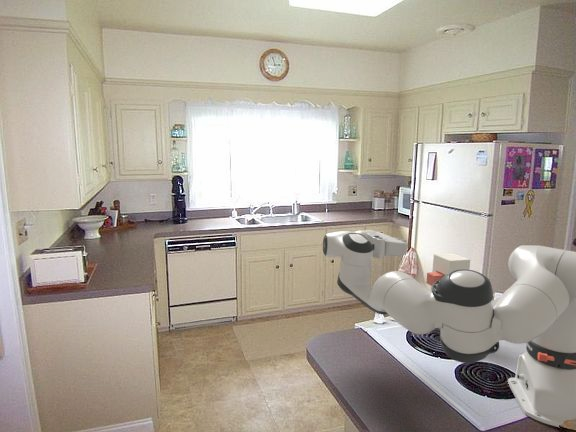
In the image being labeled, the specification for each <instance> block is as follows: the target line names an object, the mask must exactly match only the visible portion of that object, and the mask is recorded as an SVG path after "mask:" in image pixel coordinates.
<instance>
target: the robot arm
mask: <svg viewBox="0 0 576 432" xmlns="http://www.w3.org/2000/svg"><path fill="white" fill-rule="evenodd" d="M407 242H408V241H407V240H406V239H405V238H402V237H392V236H391V235H389V234H386V233H382V232H381V231H375V230H373V229H366V230H359V229H358V230H356V231H349V230H341V231H340V230H339V231H331V232H328V233H326V234H324V237H323V241H322V252H323V254H324V256H325V257H328V258H340V264H339V272H338V276H337V281H336V283H337V286H338V287H339V289H340V290H341V291H343V292H344V293H345V294H348V295H350V296H352V297H353V298H354V299H356V300H357V302H358V301H359V302H360V303H361V304H362V305H363V306H365V307H366V308H367V309H369V310H371V311H372V312H374V313H376V314H378V315H388V316H390V318H392V320H394V321H395V322H396V323H398V324H399V325H400V326H401V327H402V328H404V329H405V330H407V331H409V332H410V333H412V334H415V335H427V334H429V333H431V332H433V331H434V330H435V329H439V331H440V332H439V340H440V341H439V342H440V345H441V348H442V350H443V352H444V353H445V354H446V356H448V358H450V359H452V360H453V361H455V362H459V363H463V364H471V363H476V362H477V363H478V362H480V361H482V360H484V359H485V358H487V357H488V356H489V355H490V354H495V353H497V352H498V351H499V348H500V341H505V342H508V343H512V344H516V345H522V344H523V345H524V344H526V346H525V347H526V348H525V349H526V350H525V352H523V353H521V354H520V355H518V359H517V366H516V371H515V376H513V377H509V378H508V379H507V382H508V383H507V385H508V384H509V385H508V386H509V388H510V390H511V392H512V393H513V395H514V397H515V399H516V401H517V403H518V406H520V408H521V410H522V412H523V414H524V415H525V416H527V417H529V418H531V419H532V420H536V421H538V422H539V423H543V424H546V425H550V426H552V427H557V428H560V427H559V425H561V424H563V423H564V421H566V420H572V419H575V418H576V251H573V250H566V249H561V248H555V247H549V246H544V245H536V244H535V245H534V244H533V245H532V244H531V245H529V244H526V245H522V244H521V245H519V246H518V247H516V248H515V249H514V250H513V251H512V252H511V253H510V255H509V258H508V260H507V261H508V262H507V263H508V264H507V265H508V270H509V273H510V275H511V276H512V277H513V279H515V280H516V281H514V283H513V284H512V285H511V286H510V287H508V288H507V289H506V290H505V291H504V292H503V293H502V294H501V296H499V297H498V298H494V300H492V299H493V294H494V290H493V286H492V282H491V281H490V279H489V278H488V277H487V276H486V275H484V274H483V273H481V272H478V271H477V270H472V269H469V270H466V269H462V270H456V271H453V272H451V273H449V274H447V275H445V276H444V277H442V279H441V280H437V281H436V282H435V283H434V284H433V286H432V289H431V288H430V290H429V289H427V288H426V287H425V286H423V285H422V284H421V283H419V281H417V280H416V279H415V278H414V277H413V276H411V275H410V274H408V273H406V272H404V271H400V270H394V271H392V270H391V271H388V272H386V273H384V274H382V275H381V276H379V277H378V278H377V279H376V281H375V282H374V283H373V287H372V286H371V285H370V277H371V276H370V275H371V271H372V270H371V269H372V263H373V258H376V259H384V258H385V257H396V256H397V257H398V256H403V255H406V254H407V253H408V243H407ZM434 288H435V289H434ZM560 429H561V428H560Z"/></svg>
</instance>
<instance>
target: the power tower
mask: <svg viewBox="0 0 576 432" xmlns="http://www.w3.org/2000/svg"><path fill="white" fill-rule="evenodd" d="M432 261H433V262H432V272H440V273H442V274H445V275H447V274H449V273H451V272H453V271H456V270H462V269H466V270H471V269H470V267H471V259H470V258H468V257H464V256H461V255H459V254H456V253H453V252H452V253H451V252H450V253H449V252H448V253H435V254H433V260H432ZM430 286H431V285H430ZM431 289H432V286H431V287H430V290H431ZM434 289H435V288H434Z"/></svg>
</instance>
